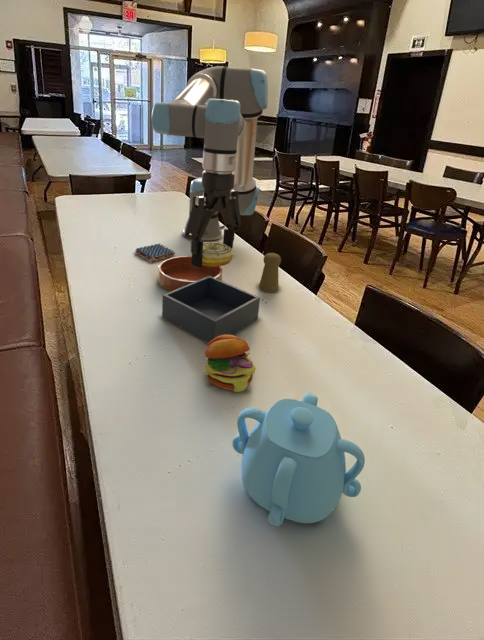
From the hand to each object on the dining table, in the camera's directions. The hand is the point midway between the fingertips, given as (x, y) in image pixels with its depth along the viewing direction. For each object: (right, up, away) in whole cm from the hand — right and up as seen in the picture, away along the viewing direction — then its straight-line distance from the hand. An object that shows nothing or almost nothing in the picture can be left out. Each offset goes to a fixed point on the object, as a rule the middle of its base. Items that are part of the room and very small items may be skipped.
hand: (212, 259), depth 103 cm
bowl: (-7, -7, +24) cm, 26 cm away
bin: (-1, -15, +4) cm, 16 cm away
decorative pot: (+13, -34, -40) cm, 54 cm away
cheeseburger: (+4, -24, -17) cm, 30 cm away
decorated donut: (0, 0, 0) cm, 0 cm away
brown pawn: (+17, -9, +24) cm, 31 cm away
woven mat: (-21, +1, +42) cm, 47 cm away
